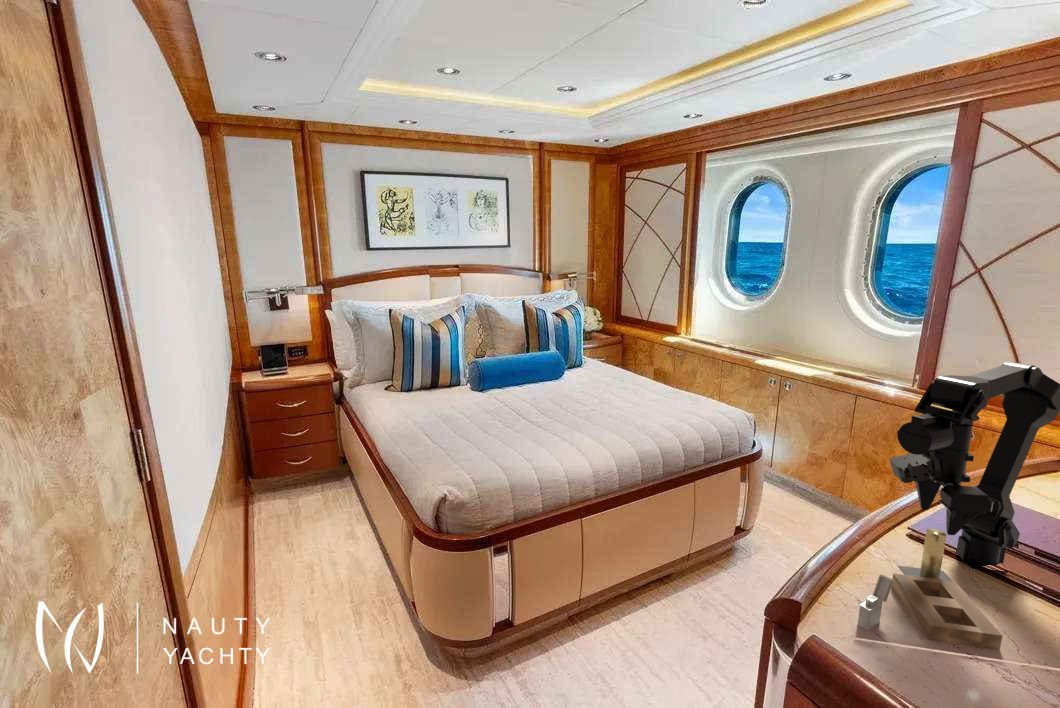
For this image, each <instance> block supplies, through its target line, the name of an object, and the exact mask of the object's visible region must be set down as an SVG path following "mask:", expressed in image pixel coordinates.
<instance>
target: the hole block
mask: <svg viewBox="0 0 1060 708" xmlns="http://www.w3.org/2000/svg"><path fill="white" fill-rule="evenodd" d="M891 579H893V584H892V587H891V589H893V591H894V592H895V594H896V595H897V596H898V598H899V599H900V602H902V605H904V606H905V609H907V611H908V612H909V614H910V616H911V617H912V618H913V620H914V622H915V623H916V624H917V626H918V627H919V629H920V630H921V632H922V634H923V635H924V636H925V637H926V639H927V640H928V641H934V642H935V641H936V642H940V643H948V644H954V645H960V646H967V647H975V648H980V649H981V648H982V649H987V650H994V651H1001V646H1002V640H1003V634H1002V633H1001V632H1000V631H999V629H997V628H996V626H994V624H993V623H992V622H991V621H990V620H989V618H988V617H987V616H986V615H985V614H984V613H983V612H982V610H980V608H979V607H978V606H977V605H976V604H975V602H974V601H973V600H972V599H971V598H970V597H969V596H968V594H966V592H965V591H964V590H963V589H962V587H961V586H959V585H958V584H957V582H956V581H955V580H952V581H950V580H942V579H934V578H926V577H918V576H910V575H904V574H901V573H893V574H892V577H891ZM949 622H952V623H949ZM957 623H959V624H957Z"/></svg>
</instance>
